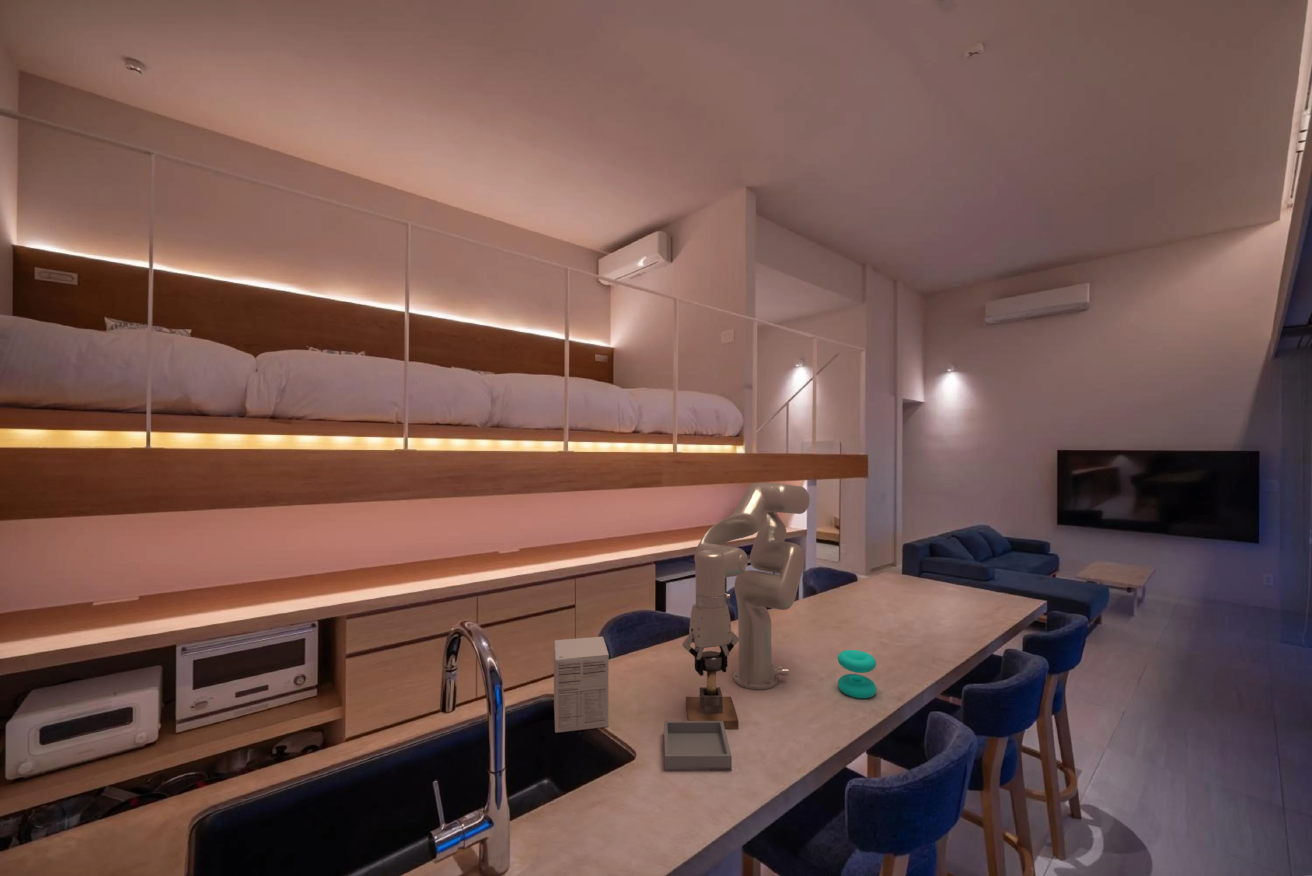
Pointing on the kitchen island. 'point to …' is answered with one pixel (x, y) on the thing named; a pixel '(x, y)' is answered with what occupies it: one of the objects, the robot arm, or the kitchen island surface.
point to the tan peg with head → (711, 669)
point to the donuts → (854, 682)
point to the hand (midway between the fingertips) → (711, 671)
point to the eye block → (712, 708)
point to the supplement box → (580, 684)
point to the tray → (696, 746)
